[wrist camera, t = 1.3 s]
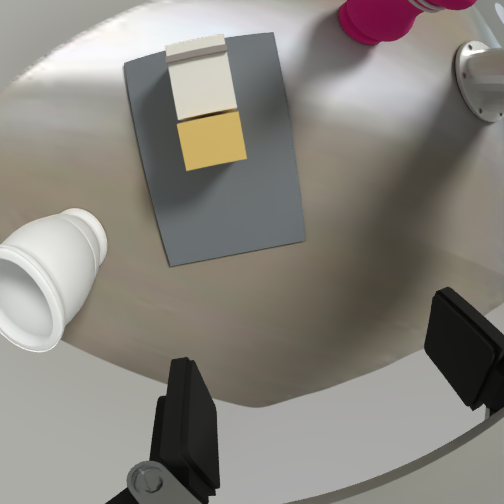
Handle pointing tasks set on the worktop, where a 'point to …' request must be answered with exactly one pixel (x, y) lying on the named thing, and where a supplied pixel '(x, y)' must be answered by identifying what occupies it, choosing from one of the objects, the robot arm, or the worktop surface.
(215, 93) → the ticket
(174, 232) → the mat
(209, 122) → the stub
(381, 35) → the pepper mill
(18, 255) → the jar
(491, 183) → the worktop surface
